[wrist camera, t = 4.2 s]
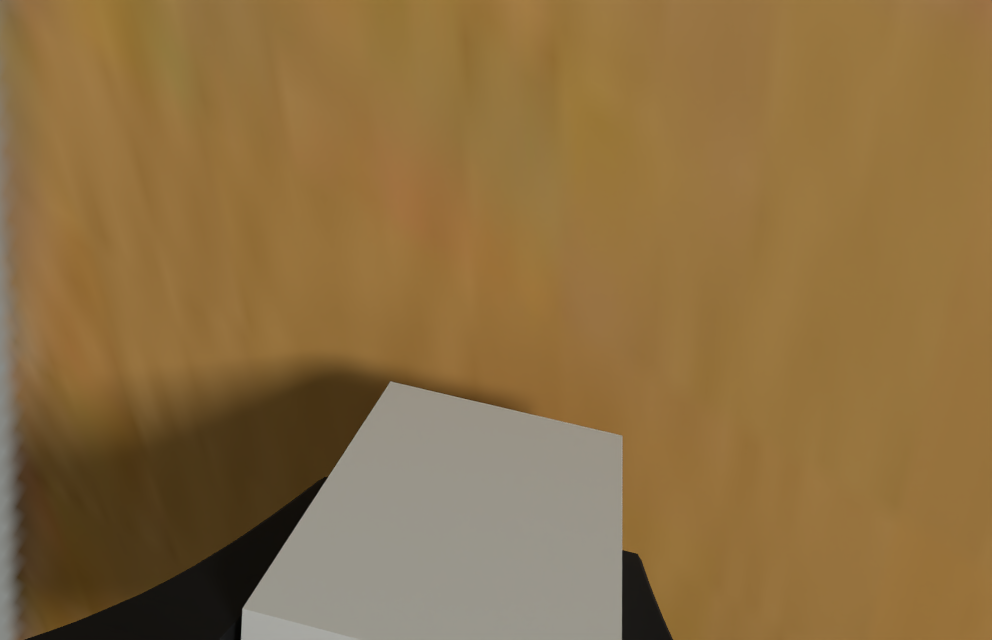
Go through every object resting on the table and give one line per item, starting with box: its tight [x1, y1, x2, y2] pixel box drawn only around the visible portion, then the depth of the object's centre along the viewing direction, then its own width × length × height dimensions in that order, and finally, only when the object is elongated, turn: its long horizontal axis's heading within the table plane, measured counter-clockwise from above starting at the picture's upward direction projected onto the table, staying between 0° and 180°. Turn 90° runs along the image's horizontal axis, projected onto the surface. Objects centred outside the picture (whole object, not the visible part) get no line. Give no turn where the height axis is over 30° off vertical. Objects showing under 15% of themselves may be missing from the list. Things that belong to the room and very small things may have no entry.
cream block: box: [241, 381, 622, 640], centre depth 12 cm, size 4×4×6 cm
